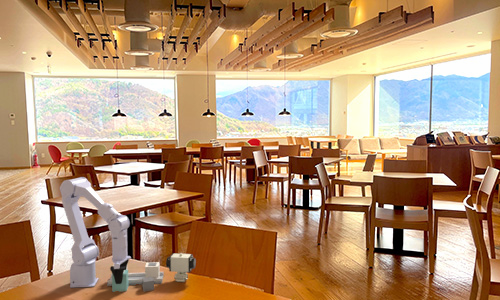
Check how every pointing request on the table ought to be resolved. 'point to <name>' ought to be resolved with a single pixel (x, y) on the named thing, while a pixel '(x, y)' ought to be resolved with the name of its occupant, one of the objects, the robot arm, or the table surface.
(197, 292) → the table surface
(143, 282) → the dark loose block
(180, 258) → the pneumatic valve
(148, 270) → the board
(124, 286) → the block
